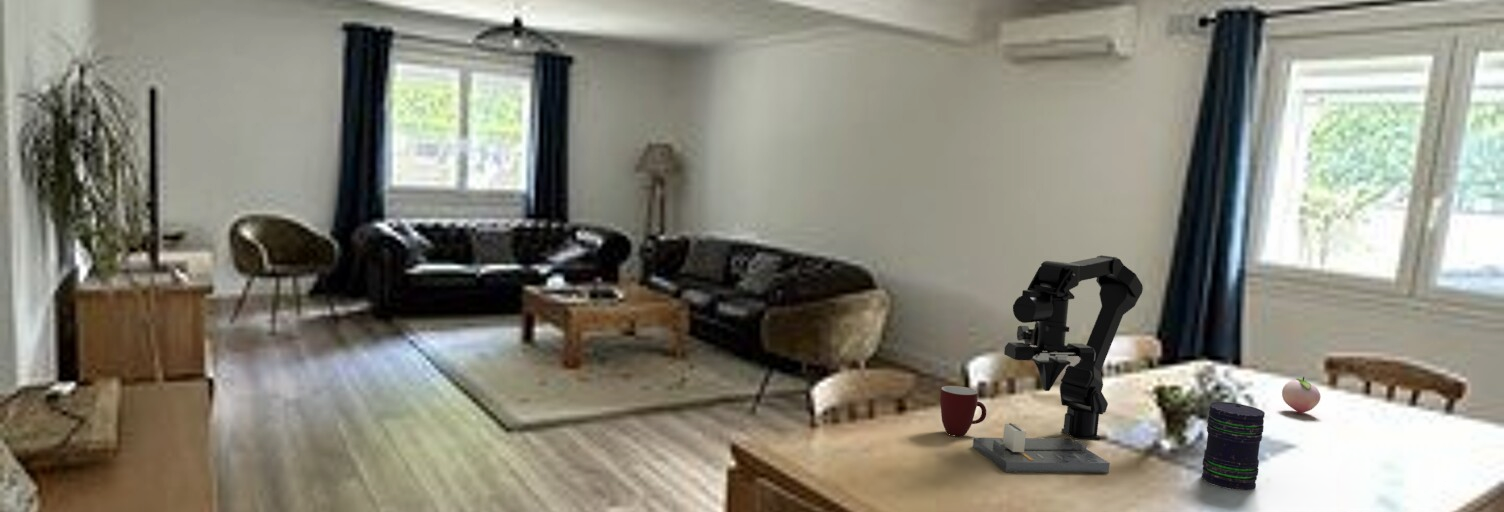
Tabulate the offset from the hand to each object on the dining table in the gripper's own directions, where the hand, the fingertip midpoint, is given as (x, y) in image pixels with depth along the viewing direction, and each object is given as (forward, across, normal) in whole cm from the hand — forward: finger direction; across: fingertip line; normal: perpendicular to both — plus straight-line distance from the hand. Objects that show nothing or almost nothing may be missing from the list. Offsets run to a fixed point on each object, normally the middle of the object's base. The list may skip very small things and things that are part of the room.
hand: (1046, 390), depth 199 cm
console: (+12, +6, +11) cm, 17 cm away
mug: (+12, +16, -7) cm, 21 cm away
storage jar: (+12, -27, +24) cm, 39 cm away
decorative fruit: (+13, -88, -27) cm, 93 cm away
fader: (+9, +12, +10) cm, 19 cm away
